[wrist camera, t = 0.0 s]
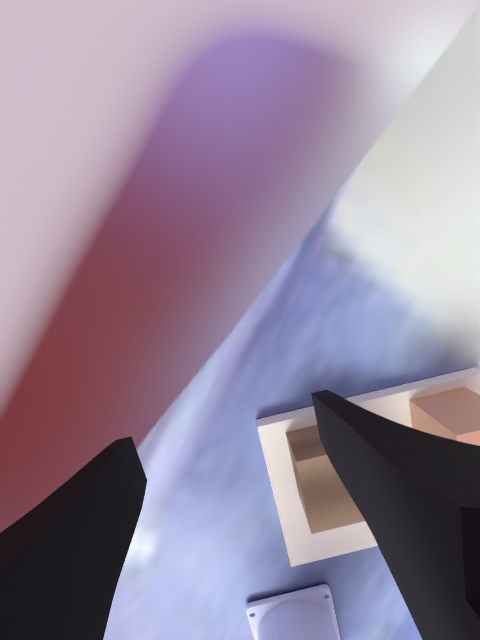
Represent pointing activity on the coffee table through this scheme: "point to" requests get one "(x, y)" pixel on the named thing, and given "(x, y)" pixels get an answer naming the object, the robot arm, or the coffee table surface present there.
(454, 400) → the terracotta block
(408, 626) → the coffee table surface
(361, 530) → the cream board
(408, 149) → the coffee table surface
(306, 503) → the walnut block
